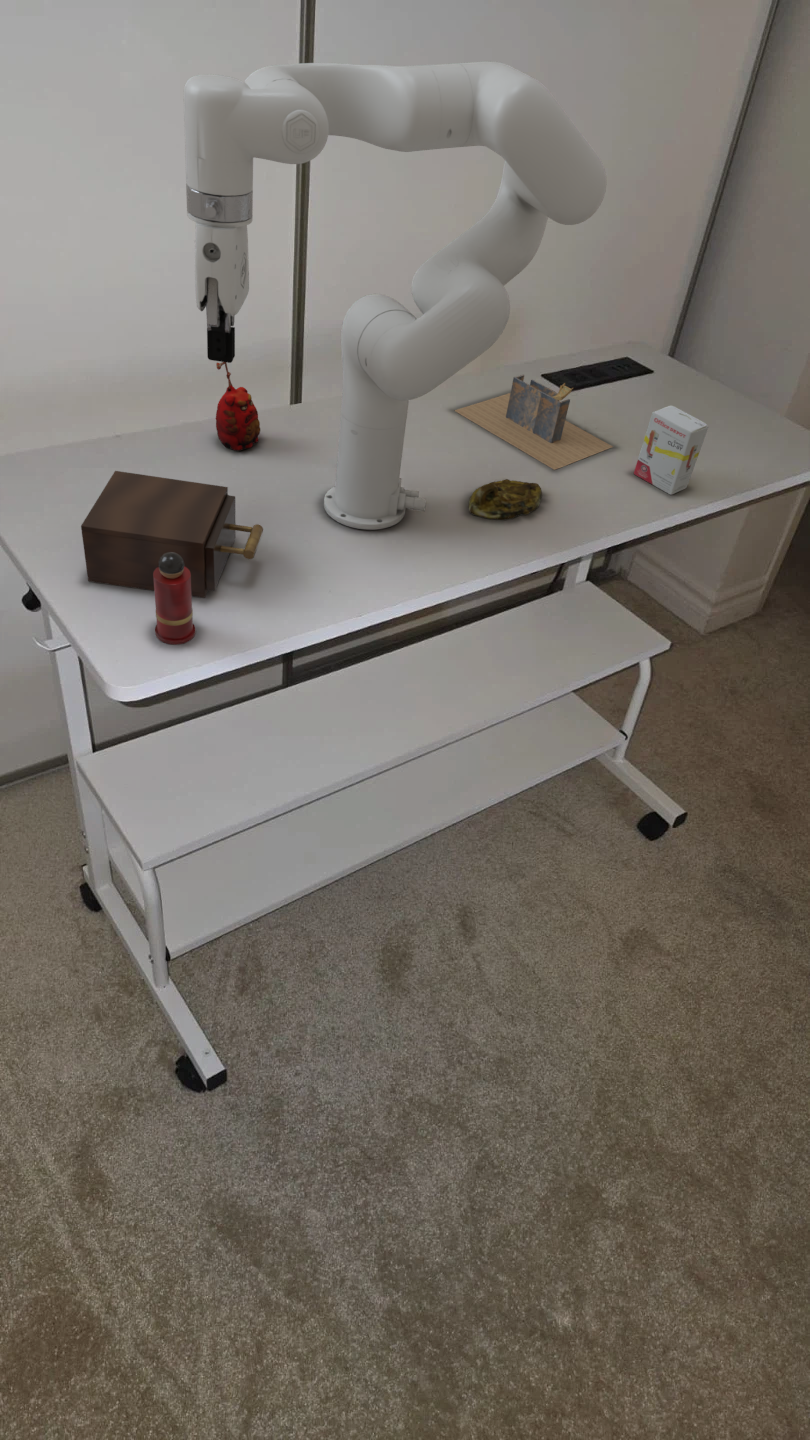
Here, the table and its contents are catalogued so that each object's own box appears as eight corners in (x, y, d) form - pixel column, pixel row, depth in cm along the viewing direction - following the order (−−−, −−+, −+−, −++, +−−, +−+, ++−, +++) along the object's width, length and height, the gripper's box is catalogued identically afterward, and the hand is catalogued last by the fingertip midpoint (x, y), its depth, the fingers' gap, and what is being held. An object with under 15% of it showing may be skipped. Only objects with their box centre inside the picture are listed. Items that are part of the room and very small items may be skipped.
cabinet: (228, 539, 138) (227, 486, 133) (204, 598, 128) (203, 543, 122) (120, 524, 138) (115, 470, 132) (88, 581, 128) (80, 525, 122)
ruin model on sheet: (613, 446, 174) (628, 395, 168) (554, 470, 165) (567, 416, 159) (513, 391, 186) (523, 341, 180) (453, 410, 177) (462, 358, 171)
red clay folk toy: (246, 457, 156) (246, 367, 146) (207, 446, 157) (204, 356, 147) (266, 437, 162) (267, 350, 151) (228, 427, 163) (227, 339, 153)
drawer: (267, 542, 138) (268, 500, 133) (248, 596, 128) (249, 553, 123) (134, 523, 137) (130, 480, 133) (106, 575, 128) (100, 531, 123)
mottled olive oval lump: (515, 483, 162) (451, 507, 154) (518, 457, 159) (454, 479, 151) (557, 503, 157) (494, 528, 149) (561, 476, 154) (497, 500, 146)
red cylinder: (199, 623, 124) (196, 545, 116) (190, 647, 120) (186, 569, 112) (161, 617, 124) (155, 539, 116) (150, 641, 120) (143, 562, 112)
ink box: (631, 473, 168) (651, 409, 159) (648, 466, 170) (669, 403, 162) (670, 496, 163) (692, 431, 155) (687, 488, 166) (710, 424, 158)
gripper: (239, 228, 106) (239, 387, 119) (263, 191, 117) (260, 340, 130) (171, 218, 106) (178, 379, 118) (201, 181, 117) (204, 332, 129)
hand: (221, 358), depth 124 cm, fingers closed
